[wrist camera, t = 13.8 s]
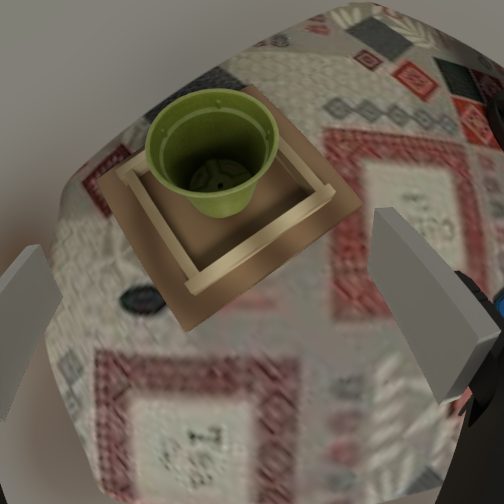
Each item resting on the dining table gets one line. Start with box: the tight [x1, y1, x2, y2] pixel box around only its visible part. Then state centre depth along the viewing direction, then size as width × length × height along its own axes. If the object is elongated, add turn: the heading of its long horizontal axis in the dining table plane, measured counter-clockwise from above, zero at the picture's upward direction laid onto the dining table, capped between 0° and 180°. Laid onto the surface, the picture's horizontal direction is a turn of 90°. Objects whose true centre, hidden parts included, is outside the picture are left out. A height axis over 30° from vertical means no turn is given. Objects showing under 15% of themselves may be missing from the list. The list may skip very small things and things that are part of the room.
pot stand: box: [96, 84, 363, 332], centre depth 29 cm, size 20×18×4 cm
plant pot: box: [145, 88, 279, 218], centre depth 25 cm, size 9×9×9 cm
